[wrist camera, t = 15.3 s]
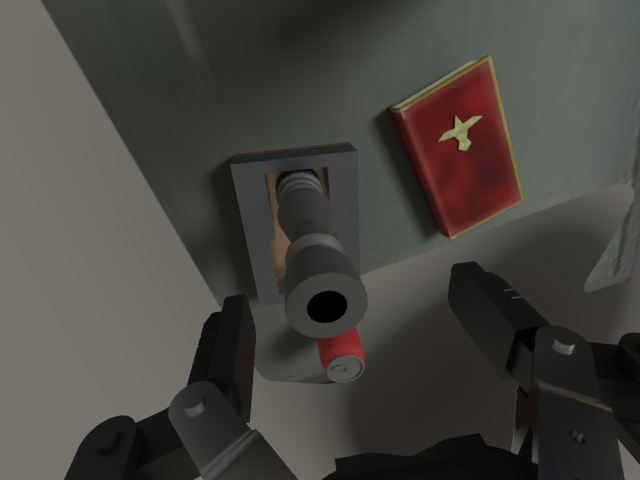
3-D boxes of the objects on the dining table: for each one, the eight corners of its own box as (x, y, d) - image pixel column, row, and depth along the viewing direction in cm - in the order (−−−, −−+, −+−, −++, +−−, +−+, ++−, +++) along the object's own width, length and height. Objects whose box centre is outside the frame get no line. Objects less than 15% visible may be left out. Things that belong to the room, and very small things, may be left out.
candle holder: (308, 215, 46) (343, 349, 24) (267, 198, 44) (266, 327, 22) (329, 177, 44) (388, 286, 22) (287, 156, 41) (307, 255, 20)
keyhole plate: (348, 142, 43) (357, 150, 38) (352, 272, 53) (360, 291, 48) (234, 154, 41) (230, 164, 37) (260, 285, 51) (260, 306, 47)
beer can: (316, 297, 54) (328, 352, 44) (354, 300, 55) (373, 354, 45) (309, 327, 57) (318, 385, 47) (345, 328, 58) (361, 386, 48)
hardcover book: (436, 229, 52) (449, 241, 48) (386, 107, 42) (397, 111, 38) (506, 191, 50) (525, 201, 46) (471, 55, 40) (491, 54, 37)
